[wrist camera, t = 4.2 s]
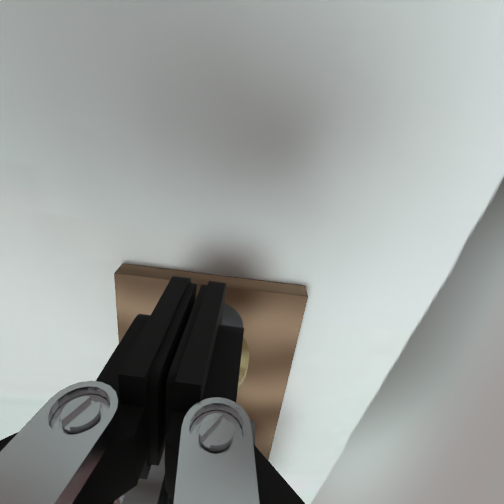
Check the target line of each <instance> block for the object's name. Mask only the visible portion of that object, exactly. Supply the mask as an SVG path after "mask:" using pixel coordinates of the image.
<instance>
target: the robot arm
mask: <svg viewBox="0 0 504 504" xmlns="http://www.w3.org/2000/svg"><path fill="white" fill-rule="evenodd" d="M225 292H226V283H222V282H215V281H209V282H208V285H203V284H202V285H201V287H200V290H199V292H198V295H197V298H196V294H197V284H195V283H191V278H185V277H178V276H172V278H171V280H170V281H169V283H168V285H167V287H166V288H165V290H164V292H163V294H162V296H161V297H160V299H159V301H158V303H157V305H156V306H155V308H154V310H153V312H152V314H151V315H146V314H138V315H137V316H136V317H135V319H134V320H133V322H132V324H131V325H130V327H129V328H128V330H127V332H126V333H125V335H124V336H123V338H122V340H121V341H120V343H119V345H118V346H117V348H116V349H115V351H114V353H113V354H112V356H111V357H110V359H109V361H108V362H107V364H106V365H105V367H104V369H103V370H102V372H101V373H100V375H99V377H98V378H97V380H96V381H86V382H79V383H76V384H73V385H70V386H68V387H66V388H65V389H63V390H61V391H59V392H58V393H57V394H55V395H54V396H53V397H52V398H51V399H50V400H48V402H47V403H46V404H45V405H44V406H43V407H42V408H41V409H40V410H39V411H38V412H37V413H36V414H35V415H34V416H33V418H32V419H31V420H30V421H29V422H28V423H27V424H26V425H25V426H24V427H23V428H22V429H21V430H20V431H19V432H18V433H15V434H13V435H11V436H9V437H7V438H5V439H3V440H1V441H0V504H121V503H122V500H123V498H124V494H125V493H127V492H128V491H129V490H131V489H132V488H134V487H135V486H137V484H138V481H139V479H147V478H148V475H149V472H150V469H151V466H152V465H156V466H158V465H159V464H160V461H161V458H162V455H163V451H164V448H165V490H166V492H167V494H168V495H169V497H170V499H171V501H172V502H173V504H305V503H304V502H303V501H302V500H301V498H300V497H299V496H298V495H297V494H296V493H295V491H294V490H293V489H292V488H291V487H290V486H289V484H288V483H287V482H286V481H285V480H284V479H283V477H282V476H281V475H280V474H279V473H278V472H277V471H276V469H275V468H274V467H273V466H272V465H271V464H270V462H269V461H268V460H267V459H266V458H265V457H264V455H263V454H262V453H261V452H260V451H259V450H258V448H257V447H256V446H255V445H254V444H253V437H252V427H251V423H250V419H249V416H248V415H247V413H246V412H245V410H244V409H243V408H242V407H241V406H240V405H238V404H237V403H236V400H237V390H238V381H239V372H240V363H241V354H242V344H243V335H244V328H243V327H235V326H228V325H222V320H223V311H224V302H225Z"/></svg>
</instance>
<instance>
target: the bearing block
mask: <svg viewBox="0 0 504 504" xmlns="http://www.w3.org/2000/svg"><path fill="white" fill-rule="evenodd" d="M172 276H178V277H185V278H191V283H195V284H197V294H196V298H197V295H198V292H199V290H200V287H201V285H202V284H203V285H208V282H209V281H215V282H222V283H226V292H225V302H224V303H226V304H227V305H229V306H231V307H232V308H234V309H235V310H236V311H237V312H238V314H239V315H240V317H241V319H242V321H243V328H244V335H243V337H244V339H245V341H246V342H247V345H248V348H249V363H248V369H247V374H246V378H245V380H244V382H243V384H242V385H241V387H240V388H239V389H238V390H237V400H236V403H237V404H238V405H240V406H241V407H242V408H243V409H244V410H245V412H246V413H247V415H248V416H249V419H250V423H251V427H252V437H253V444H254V445H255V446H256V447H257V448H258V450H259V451H260V452H261V453H262V454H263V455H264V457H265V458H266V459H267V460H268V458H269V454H270V450H271V446H272V442H273V438H274V434H275V430H276V426H277V421H278V417H279V413H280V409H281V405H282V401H283V397H284V393H285V389H286V385H287V380H288V376H289V372H290V368H291V364H292V360H293V356H294V352H295V348H296V344H297V339H298V335H299V331H300V327H301V323H302V319H303V315H304V311H305V307H306V303H307V298H308V295H307V291H306V287H305V286H301V285H293V284H284V283H276V282H268V281H260V280H252V279H244V278H235V277H227V276H219V275H211V274H203V273H194V272H186V271H178V270H170V269H162V268H153V267H145V266H137V265H129V264H122V265H121V266H120V267H119V268H118V270H117V271H116V272H115V273H114V277H115V291H116V306H117V320H118V335H119V343H120V341H121V340H122V338H123V336H124V335H125V333H126V332H127V330H128V328H129V327H130V325H131V324H132V322H133V320H134V319H135V317H136V316H137V315H138V314H146V315H151V314H152V312H153V310H154V308H155V306H156V305H157V303H158V301H159V299H160V297H161V296H162V294H163V292H164V290H165V288H166V287H167V285H168V283H169V281H170V280H171V278H172ZM121 504H168V494H167V492H166V490H165V448H164V451H163V455H162V458H161V461H160V464H159V465H158V466H156V465H152V466H151V469H150V472H149V475H148V478H147V479H139V481H138V484H137V486H135V487H134V488H132V489H131V490H129V491H128V492H127V493H125V494H124V498H123V500H122V503H121Z"/></svg>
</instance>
